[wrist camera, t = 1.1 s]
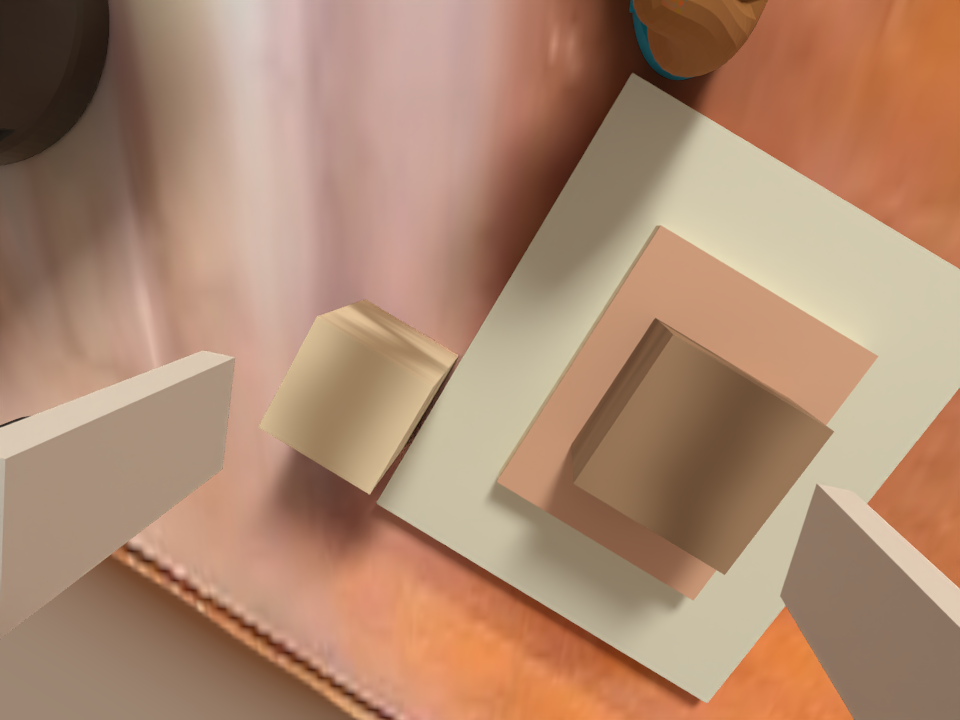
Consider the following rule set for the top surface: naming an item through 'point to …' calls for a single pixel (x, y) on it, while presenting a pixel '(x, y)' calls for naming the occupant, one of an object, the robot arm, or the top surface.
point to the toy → (692, 33)
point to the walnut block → (694, 447)
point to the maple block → (357, 391)
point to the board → (711, 323)
